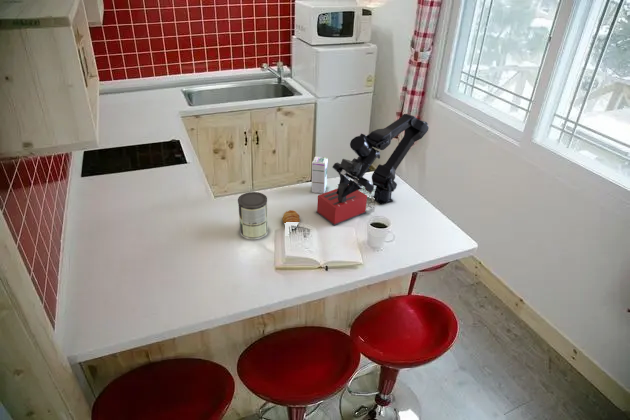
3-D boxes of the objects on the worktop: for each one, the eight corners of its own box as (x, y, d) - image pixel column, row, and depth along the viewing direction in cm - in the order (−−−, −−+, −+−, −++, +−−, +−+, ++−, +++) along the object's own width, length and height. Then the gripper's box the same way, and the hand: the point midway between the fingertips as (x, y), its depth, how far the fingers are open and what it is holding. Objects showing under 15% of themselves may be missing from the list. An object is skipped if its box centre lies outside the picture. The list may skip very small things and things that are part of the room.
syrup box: (324, 193, 187) (325, 163, 180) (310, 192, 188) (311, 161, 180) (326, 187, 192) (328, 157, 184) (313, 185, 193) (314, 155, 185)
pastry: (301, 230, 163) (301, 222, 161) (283, 231, 163) (283, 223, 161) (299, 217, 171) (299, 208, 169) (281, 218, 171) (281, 209, 168)
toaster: (347, 200, 183) (349, 183, 179) (366, 213, 176) (368, 195, 171) (316, 212, 175) (317, 195, 170) (334, 225, 167) (335, 207, 163)
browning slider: (342, 198, 168) (343, 182, 165) (346, 201, 167) (348, 185, 163) (337, 200, 167) (338, 184, 163) (341, 203, 165) (342, 187, 162)
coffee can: (234, 231, 162) (231, 198, 154) (256, 220, 168) (255, 188, 161) (251, 243, 156) (249, 210, 148) (273, 232, 162) (273, 199, 155)
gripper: (337, 142, 165) (312, 176, 165) (371, 160, 152) (344, 197, 152) (351, 156, 173) (328, 188, 173) (385, 175, 161) (359, 209, 161)
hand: (339, 195), depth 165 cm, fingers closed on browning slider, 2 cm apart
